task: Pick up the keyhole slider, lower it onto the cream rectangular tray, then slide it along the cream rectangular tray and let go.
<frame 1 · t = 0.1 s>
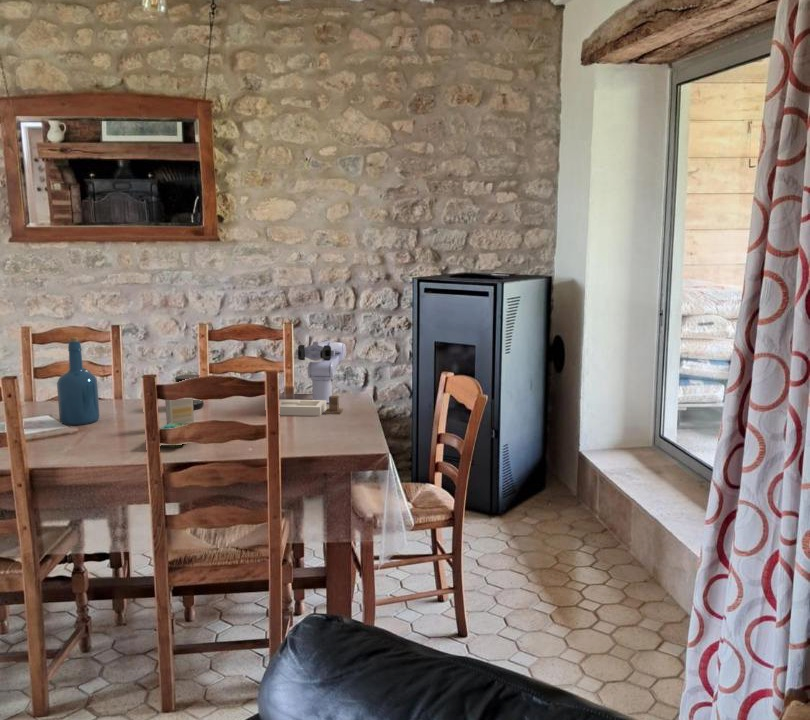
hand: (310, 354, 295), 22 cm above the table, tool horizontal, fingers open, 7 cm apart
puzzle game: (176, 443, 260), on the table
cream rectangular tray: (296, 411, 301), on the table
wine bottle: (80, 422, 288), on the table
keyhole slider: (334, 412, 299), on the table
supplement box: (180, 428, 277), on the table
supplement container: (189, 408, 308), on the table
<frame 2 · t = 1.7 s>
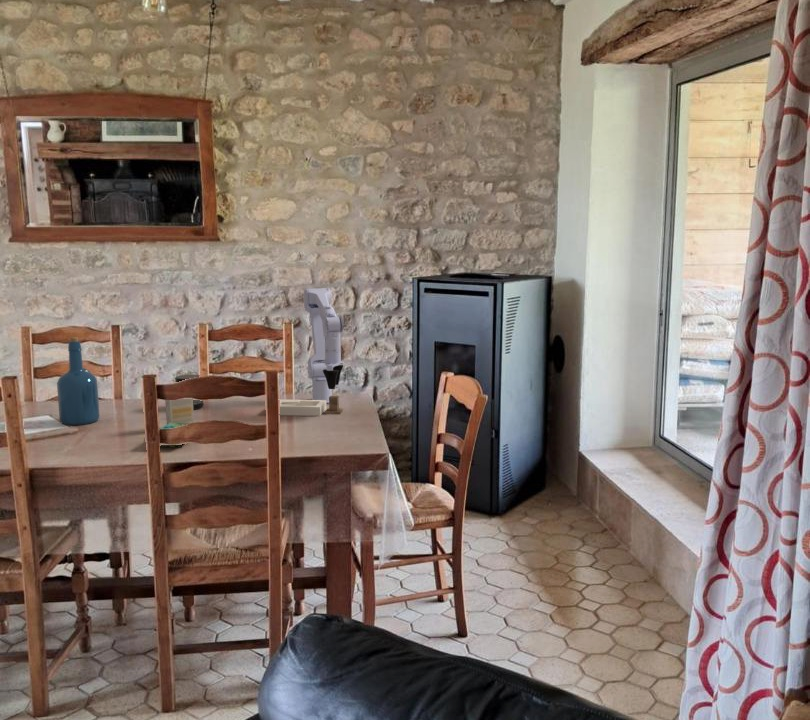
hand: (333, 386, 298), 9 cm above the table, tool pointing down, fingers open, 7 cm apart
nothing on the table moved.
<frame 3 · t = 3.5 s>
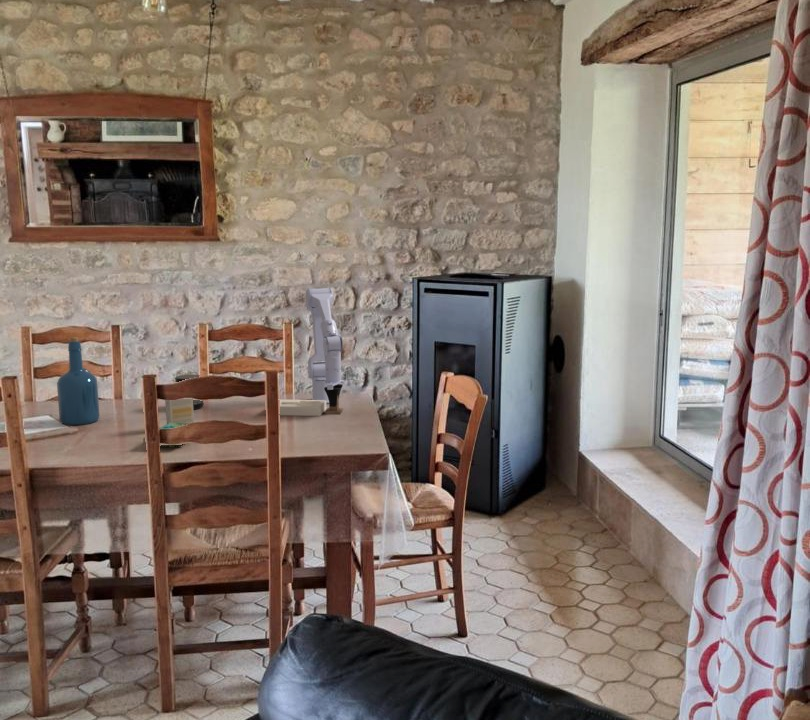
hand: (334, 405, 299), 3 cm above the table, tool pointing down, fingers closed on keyhole slider, 3 cm apart
keyhole slider: (334, 412, 299), on the table, touching gripper
everything else where it was.
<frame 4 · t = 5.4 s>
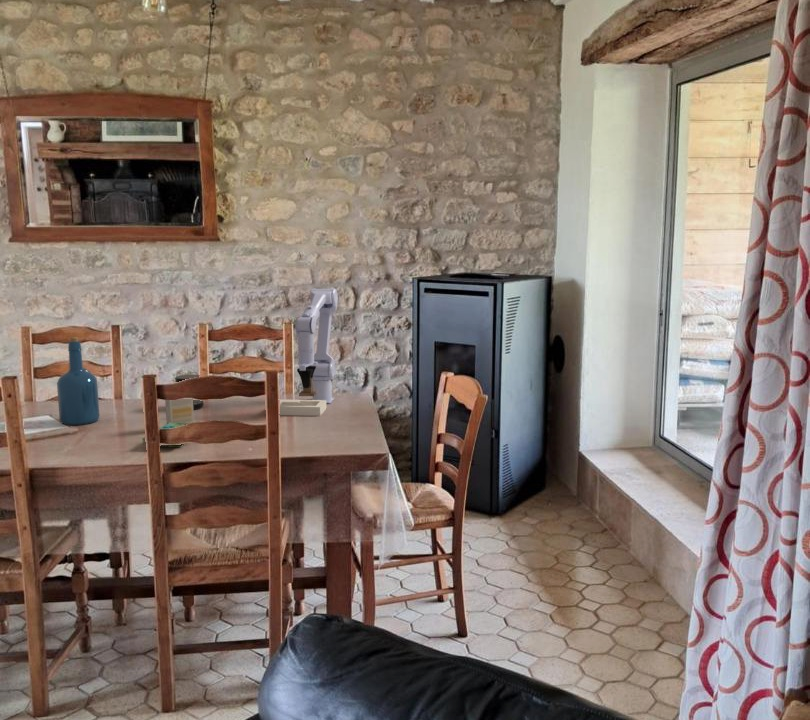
hand: (307, 386, 299), 9 cm above the table, tool pointing down, fingers closed on keyhole slider, 3 cm apart
keyhole slider: (308, 394, 299), point 6 cm above the table, touching gripper
everything else where it was.
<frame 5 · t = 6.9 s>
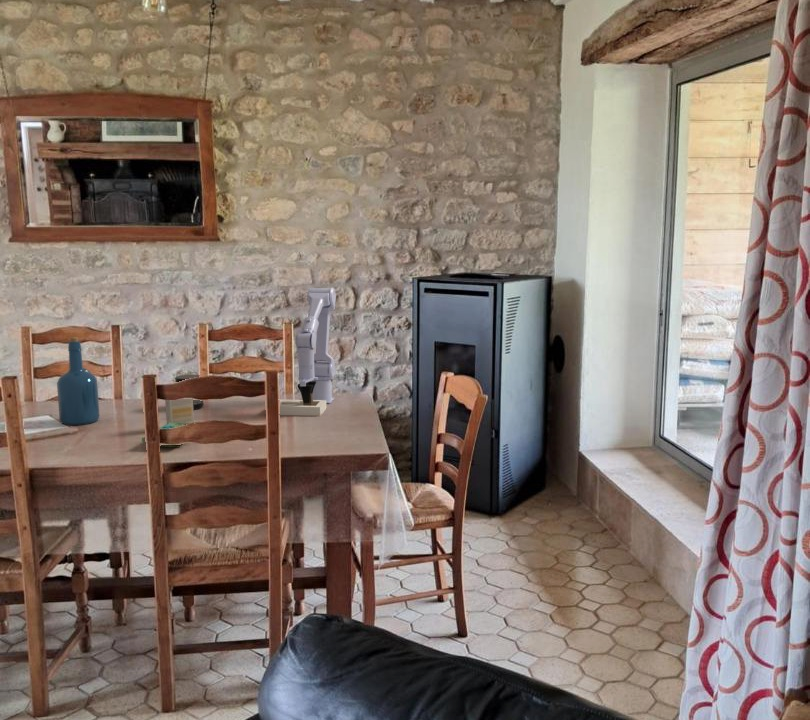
hand: (307, 402, 300), 4 cm above the table, tool pointing down, fingers closed on keyhole slider, 3 cm apart
keyhole slider: (308, 410, 300), point 1 cm above the table, touching gripper
everything else where it was.
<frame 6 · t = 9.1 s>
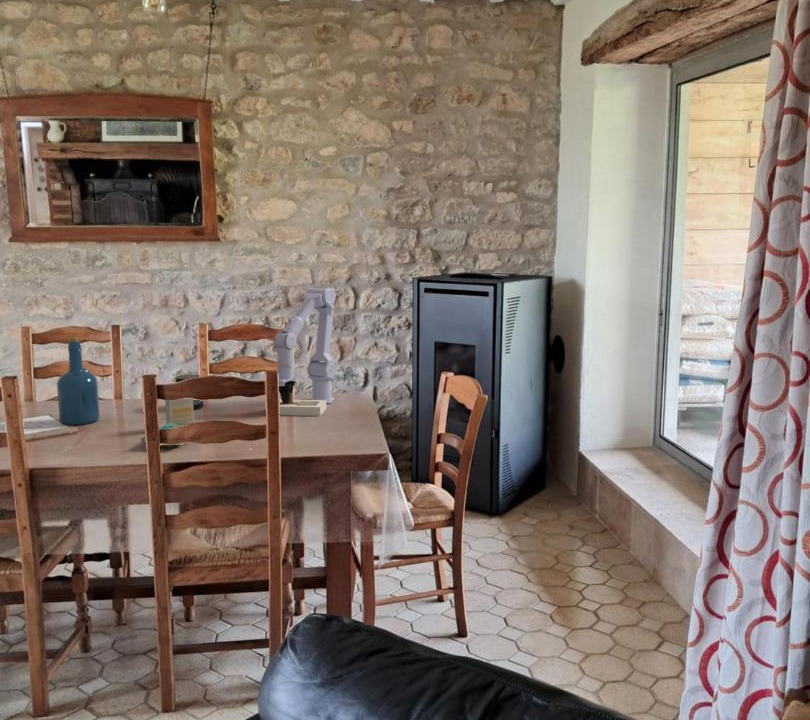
hand: (286, 401, 300), 4 cm above the table, tool pointing down, fingers closed on keyhole slider, 3 cm apart
keyhole slider: (288, 409, 301), point 1 cm above the table, touching gripper
everything else where it was.
when the fingers open (4 cm above the table, at t = 10.6 s): keyhole slider stays where it is, resting on cream rectangular tray.
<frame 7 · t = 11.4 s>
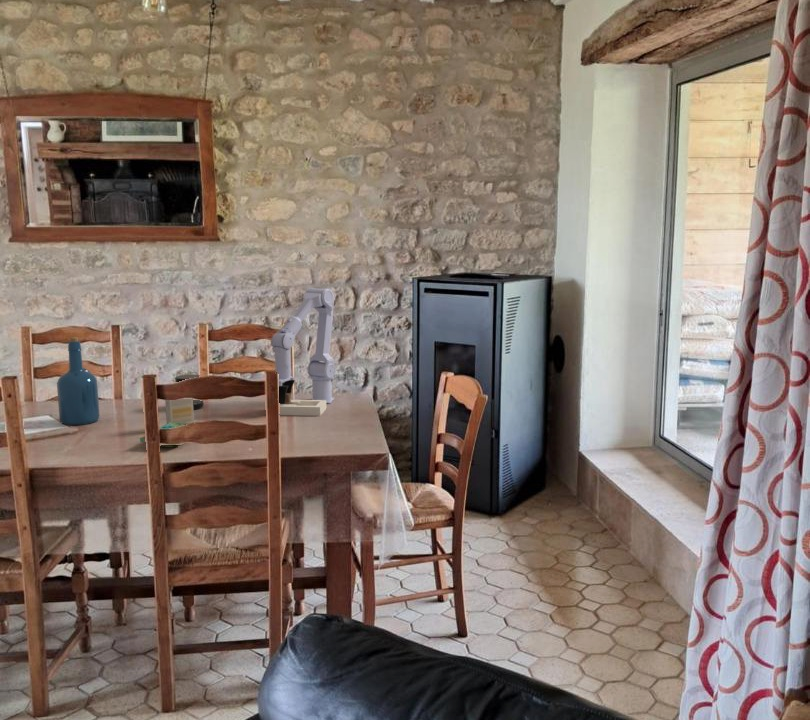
hand: (284, 401, 300), 4 cm above the table, tool pointing down, fingers open, 7 cm apart
keyhole slider: (286, 409, 301), point 1 cm above the table, touching cream rectangular tray
everything else where it was.
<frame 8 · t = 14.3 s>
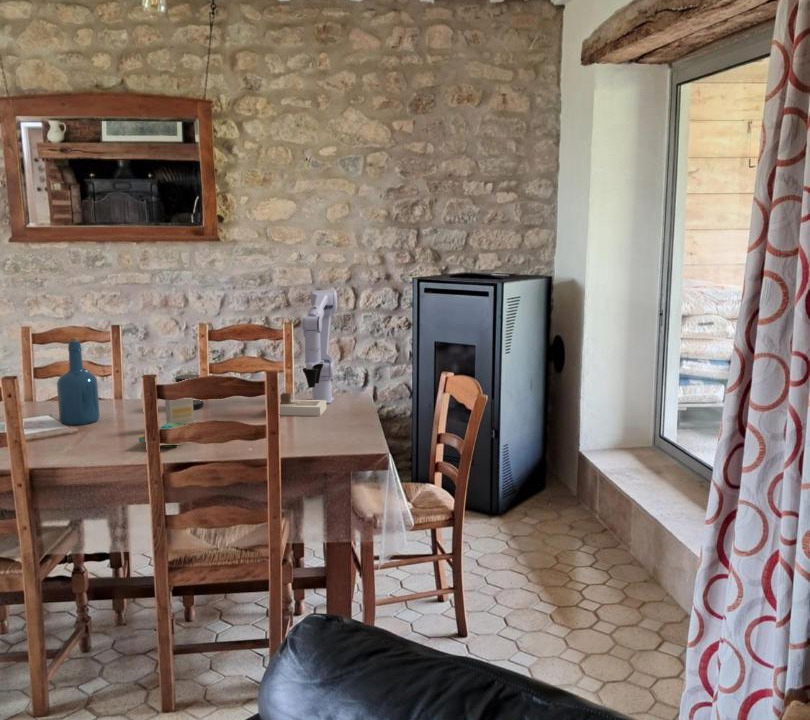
hand: (313, 385, 301), 9 cm above the table, tool pointing down, fingers open, 7 cm apart
at the end: keyhole slider 0.5 cm from the target spot on the cream rectangular tray, point 0.6 cm above the cream rectangular tray's base; keyhole slider tilted 0°; the gripper is holding nothing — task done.
